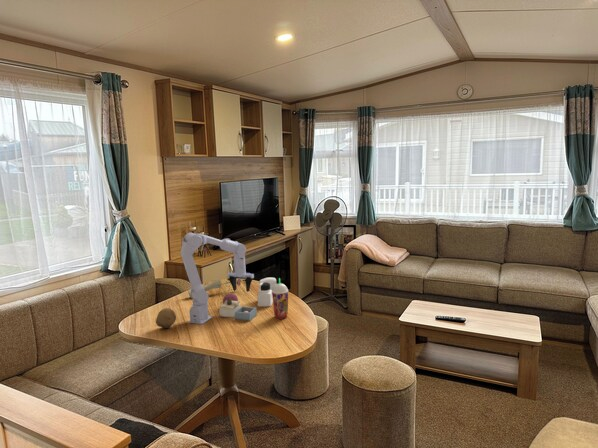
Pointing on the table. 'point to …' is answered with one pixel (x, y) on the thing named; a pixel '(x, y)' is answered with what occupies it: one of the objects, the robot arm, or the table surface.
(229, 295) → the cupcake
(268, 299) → the medicine bottle
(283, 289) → the smoothie
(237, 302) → the lid
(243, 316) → the slate pot
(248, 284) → the robot arm
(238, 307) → the cream pot
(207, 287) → the flower vase
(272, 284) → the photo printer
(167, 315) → the natural sponge
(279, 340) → the table surface
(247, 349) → the table surface
